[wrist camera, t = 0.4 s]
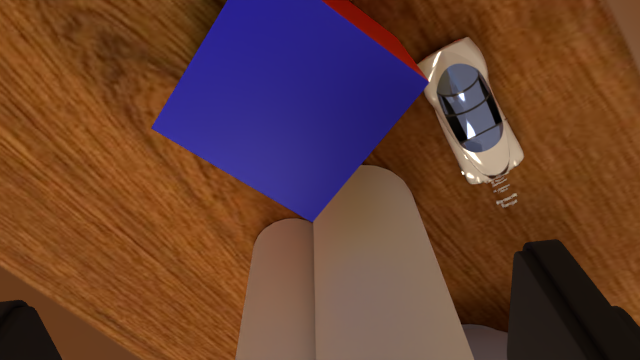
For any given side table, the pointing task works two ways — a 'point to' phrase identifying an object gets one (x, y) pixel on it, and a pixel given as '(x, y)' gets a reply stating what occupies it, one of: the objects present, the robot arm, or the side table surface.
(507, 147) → the toy car
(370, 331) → the vase
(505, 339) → the bowl
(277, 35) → the cube
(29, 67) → the side table surface
